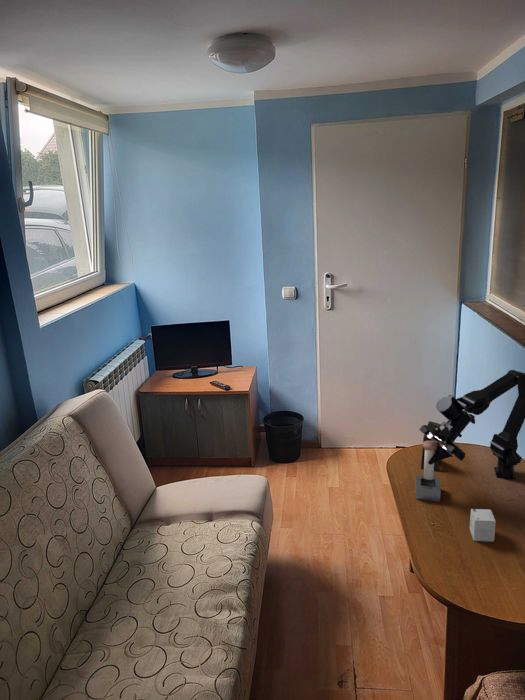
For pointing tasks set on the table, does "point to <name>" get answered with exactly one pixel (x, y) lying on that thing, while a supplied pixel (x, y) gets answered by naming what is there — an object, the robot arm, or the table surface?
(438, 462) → the phone stand
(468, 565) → the table surface
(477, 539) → the skincare box
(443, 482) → the table surface
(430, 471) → the pin
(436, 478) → the block
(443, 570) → the table surface
